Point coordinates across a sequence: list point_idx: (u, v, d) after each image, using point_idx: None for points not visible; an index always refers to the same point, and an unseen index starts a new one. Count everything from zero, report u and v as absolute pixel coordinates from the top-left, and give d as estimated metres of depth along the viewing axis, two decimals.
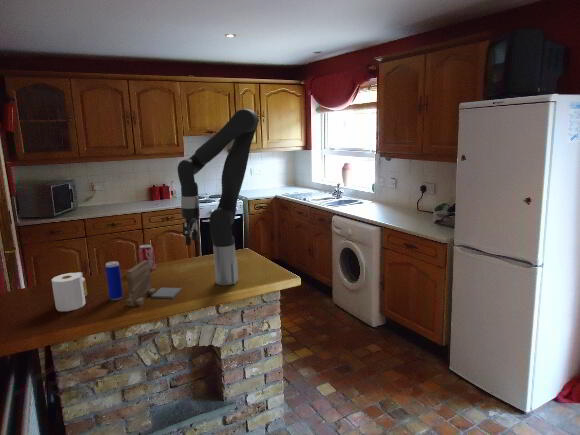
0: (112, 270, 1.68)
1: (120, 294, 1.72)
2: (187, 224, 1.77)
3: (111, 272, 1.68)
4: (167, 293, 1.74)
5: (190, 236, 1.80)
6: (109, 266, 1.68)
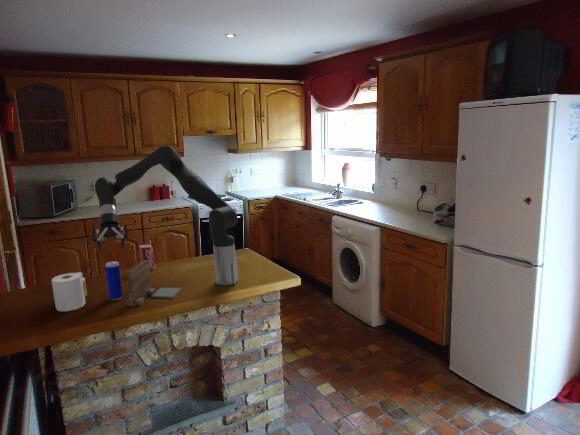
0: (112, 270, 1.68)
1: (120, 294, 1.72)
2: None
3: (111, 272, 1.68)
4: (167, 293, 1.74)
5: None
6: (109, 266, 1.68)
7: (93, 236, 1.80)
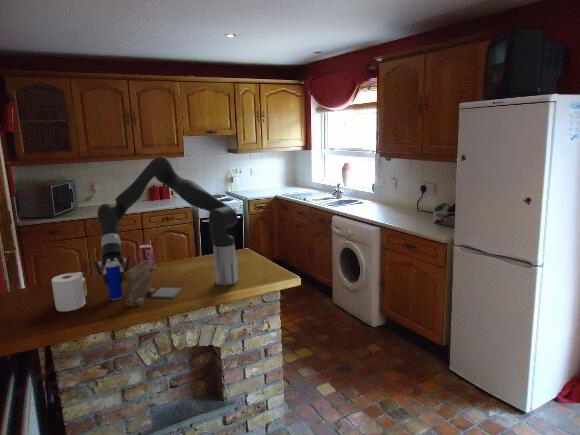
0: (112, 270, 1.68)
1: (120, 294, 1.72)
2: None
3: (111, 272, 1.68)
4: (167, 293, 1.74)
5: None
6: (109, 266, 1.68)
7: (98, 269, 1.70)
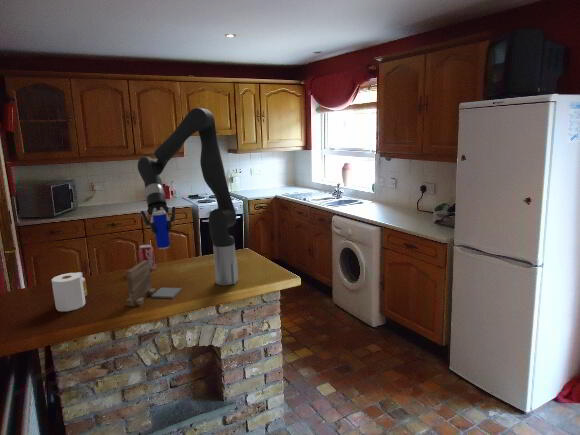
0: (160, 218, 1.67)
1: (168, 243, 1.71)
2: None
3: (158, 221, 1.67)
4: (167, 293, 1.74)
5: None
6: (157, 214, 1.67)
7: (145, 218, 1.69)
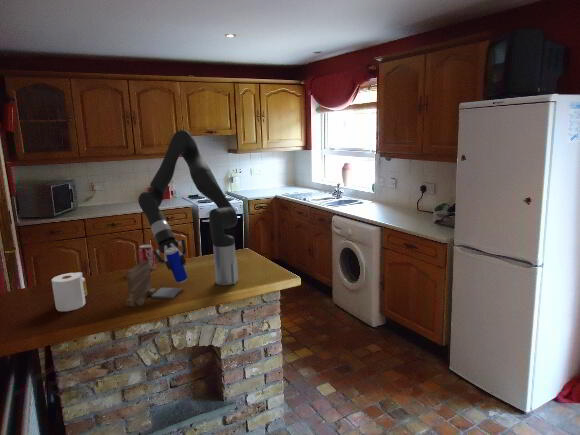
0: (174, 256, 1.74)
1: (185, 276, 1.80)
2: None
3: (173, 259, 1.74)
4: (167, 293, 1.74)
5: None
6: (170, 253, 1.73)
7: (159, 258, 1.76)
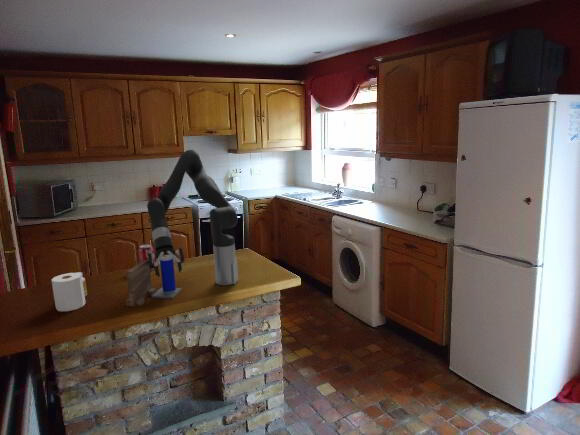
0: (167, 263, 1.72)
1: (173, 287, 1.75)
2: None
3: (165, 266, 1.72)
4: (167, 293, 1.74)
5: None
6: (164, 259, 1.71)
7: (150, 261, 1.73)
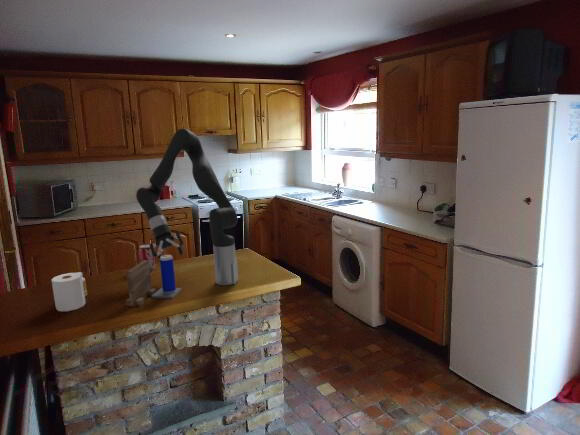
0: (167, 263, 1.72)
1: (173, 287, 1.75)
2: (179, 234, 1.94)
3: (165, 266, 1.72)
4: (167, 293, 1.74)
5: None
6: (164, 259, 1.71)
7: (152, 252, 1.89)
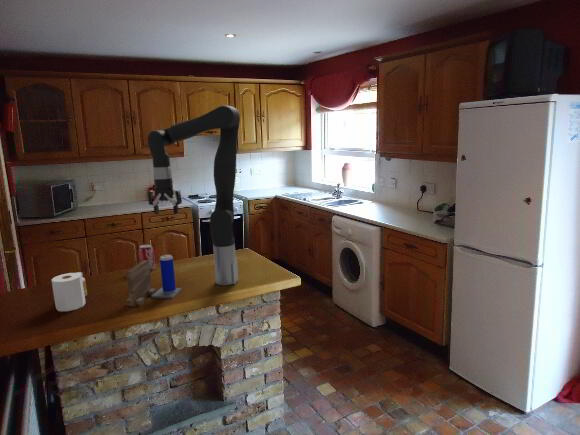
0: (167, 263, 1.72)
1: (173, 287, 1.75)
2: (179, 191, 1.85)
3: (165, 266, 1.72)
4: (167, 293, 1.74)
5: None
6: (164, 259, 1.71)
7: (149, 200, 1.85)
